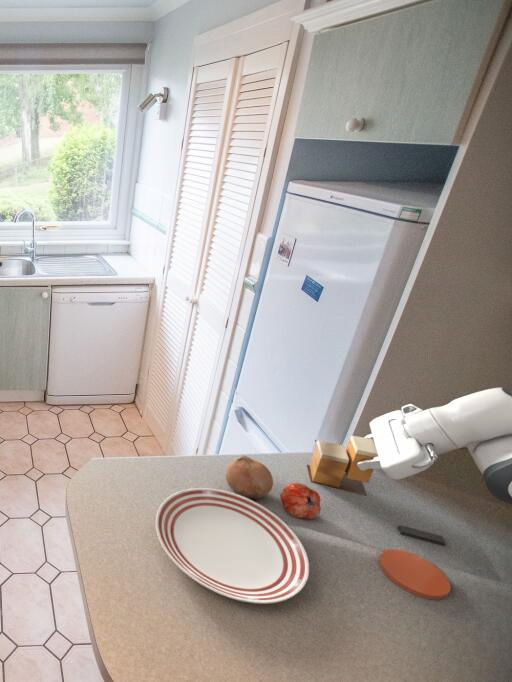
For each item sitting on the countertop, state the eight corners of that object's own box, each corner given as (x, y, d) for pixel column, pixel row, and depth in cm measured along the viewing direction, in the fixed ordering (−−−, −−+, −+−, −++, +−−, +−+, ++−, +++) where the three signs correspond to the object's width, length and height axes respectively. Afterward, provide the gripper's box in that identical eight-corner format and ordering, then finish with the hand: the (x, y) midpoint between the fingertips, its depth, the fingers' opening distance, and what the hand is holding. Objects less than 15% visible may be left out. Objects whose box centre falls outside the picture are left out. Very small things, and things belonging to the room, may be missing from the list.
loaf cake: (358, 479, 109) (370, 449, 105) (366, 498, 103) (378, 467, 100) (305, 467, 113) (315, 438, 110) (309, 484, 107) (319, 454, 104)
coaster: (436, 563, 87) (438, 560, 87) (457, 608, 79) (460, 604, 78) (372, 546, 91) (374, 542, 91) (387, 586, 83) (388, 582, 82)
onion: (227, 493, 109) (220, 452, 110) (271, 491, 106) (264, 449, 106) (232, 507, 100) (225, 462, 101) (280, 506, 97) (272, 460, 97)
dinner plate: (316, 639, 74) (321, 625, 73) (144, 577, 85) (146, 565, 83) (295, 522, 97) (299, 510, 96) (162, 485, 108) (164, 474, 106)
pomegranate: (269, 510, 103) (288, 515, 94) (274, 477, 105) (293, 480, 95) (305, 520, 101) (328, 526, 92) (310, 487, 103) (332, 490, 93)
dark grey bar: (438, 540, 92) (442, 535, 92) (443, 549, 90) (446, 543, 90) (320, 509, 100) (322, 504, 100) (322, 517, 98) (324, 511, 98)
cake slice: (362, 467, 107) (372, 439, 104) (368, 483, 102) (379, 454, 99) (341, 462, 109) (351, 435, 105) (347, 478, 104) (357, 449, 100)
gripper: (451, 474, 87) (372, 495, 96) (426, 422, 103) (360, 444, 112) (429, 448, 87) (352, 471, 96) (407, 400, 104) (343, 424, 112)
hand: (356, 456), depth 104 cm, fingers closed on cake slice, 6 cm apart
